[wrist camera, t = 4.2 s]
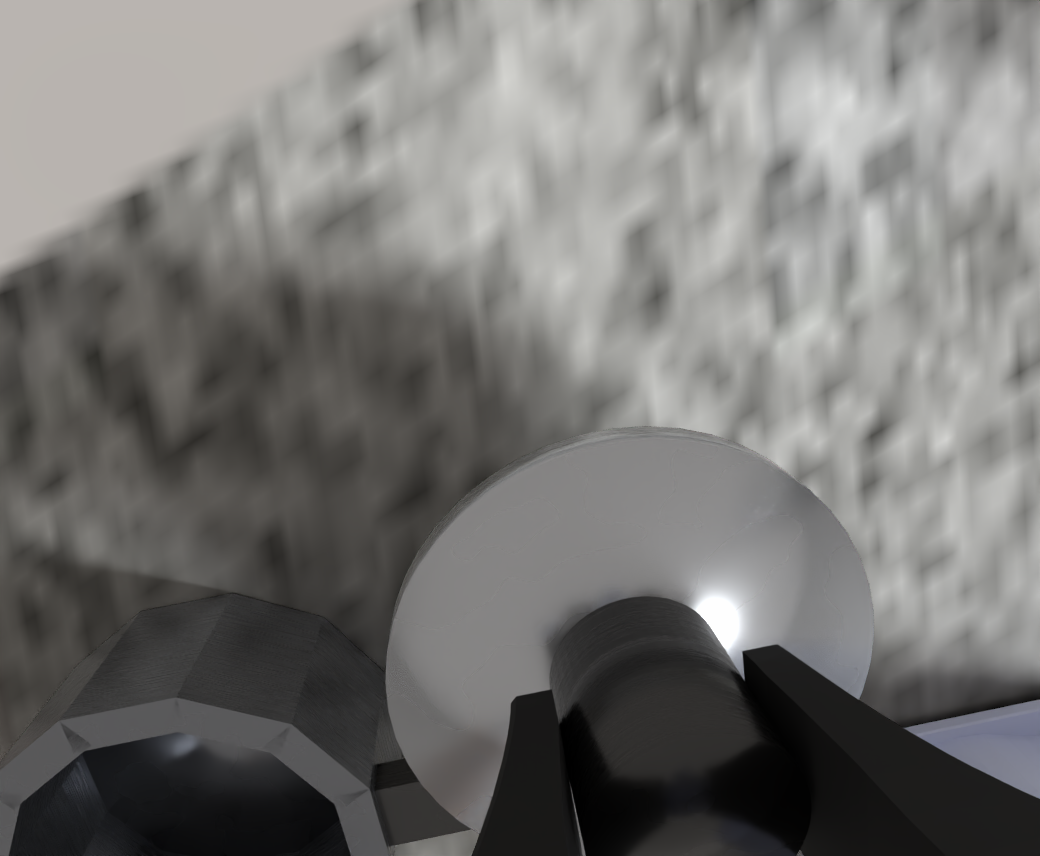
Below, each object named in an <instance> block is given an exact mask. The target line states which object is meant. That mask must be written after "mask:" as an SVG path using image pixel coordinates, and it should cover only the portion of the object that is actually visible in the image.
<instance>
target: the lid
mask: <svg viewBox="0 0 1040 856" xmlns="http://www.w3.org/2000/svg"><path fill="white" fill-rule="evenodd" d="M873 640H874V610H873V604H872V598H871V592H870V586H869V582H868V579H867V576H866V573H865V570H864V567H863V564H862V561H861V558H860V556H859V554H858V552H857V550H856V548H855V546H854V544H853V542H852V540H851V539H850V537H849V535H848V533H847V532H846V530H845V529H844V528H843V526H842V525H841V524H840V522H839V521H838V520H837V518H836V517H835V516H834V514H833V513H832V511H831V510H830V509H829V508H828V507H827V506H826V505H825V504H824V503H823V502H822V501H820V500H819V499H818V498H817V497H816V496H815V495H814V494H813V493H812V492H811V491H810V490H809V489H808V488H807V487H805V486H804V485H803V484H802V483H800V482H799V481H798V480H797V479H796V478H794V477H793V476H792V475H791V474H789V473H788V472H786V471H785V470H783V469H782V468H781V467H779V466H778V465H776V464H775V463H774V462H772V461H771V460H769V459H768V458H766V457H764V456H762V455H760V454H758V453H756V452H755V451H753V450H751V449H749V448H747V447H745V446H743V445H741V444H738V443H735V442H732V441H729V440H726V439H723V438H720V437H717V436H714V435H712V434H707V433H702V432H696V431H691V430H686V429H681V428H668V427H651V426H643V427H628V428H613V429H608V430H603V431H597V432H592V433H587V434H582V435H578V436H575V437H572V438H569V439H566V440H562V441H559V442H556V443H553V444H550V445H547V446H545V447H543V448H541V449H538V450H536V451H534V452H532V453H530V454H528V455H526V456H523V457H521V458H519V459H517V460H515V461H513V462H512V463H510V464H509V465H507V466H505V467H504V468H502V469H501V470H499V471H497V472H496V473H494V474H493V475H491V476H489V477H488V478H486V479H485V480H484V481H483V482H481V483H480V484H479V485H478V486H477V487H475V488H474V489H473V490H472V491H470V492H469V493H468V494H467V495H466V496H464V497H463V498H462V499H461V500H460V501H459V502H458V503H457V504H456V505H455V506H454V507H453V508H452V509H451V510H450V511H449V512H448V513H447V514H446V515H445V517H444V518H443V519H442V520H441V521H440V522H439V523H438V524H437V525H436V527H435V528H434V530H433V531H432V532H431V534H430V535H429V537H428V538H427V539H426V541H425V542H424V544H423V545H422V546H421V548H420V549H419V551H418V553H417V555H416V557H415V558H414V560H413V562H412V564H411V566H410V568H409V570H408V572H407V574H406V575H405V578H404V581H403V583H402V586H401V589H400V592H399V595H398V597H397V600H396V603H395V607H394V612H393V617H392V622H391V627H390V632H389V640H388V648H387V659H386V682H385V685H386V694H387V703H388V712H389V715H390V719H391V722H392V726H393V730H394V733H395V737H396V740H397V742H398V744H399V746H400V748H401V750H402V753H403V755H404V757H405V759H406V761H407V763H408V765H409V766H410V768H411V769H412V771H413V772H414V774H415V775H416V777H417V778H418V780H419V781H420V783H421V784H422V786H423V787H424V788H425V789H426V790H427V791H428V792H429V793H430V795H431V796H432V797H433V798H434V799H435V800H436V801H437V802H438V803H439V805H441V806H442V807H443V808H444V809H445V810H447V811H448V812H449V813H450V814H451V815H453V816H454V817H455V818H456V819H457V820H459V821H460V822H461V823H463V824H464V825H466V826H468V827H469V828H471V829H472V830H474V831H476V832H477V833H479V834H480V832H481V829H482V826H483V823H484V820H485V817H486V814H487V811H488V808H489V805H490V802H491V799H492V796H493V792H494V789H495V785H496V781H497V778H498V774H499V770H500V766H501V763H502V759H503V754H504V750H505V745H506V740H507V735H508V729H509V721H510V710H511V702H512V701H513V700H514V699H515V697H516V696H520V695H525V694H530V693H535V692H540V691H545V690H550V689H552V692H553V697H554V702H555V706H556V711H557V716H558V721H559V726H560V732H561V737H562V743H563V748H564V754H565V759H566V765H567V770H568V776H569V781H570V786H571V792H572V797H573V803H574V808H575V814H576V819H577V825H578V830H579V836H580V841H581V847H582V855H583V856H796V855H797V853H798V852H799V850H800V848H801V847H802V845H803V842H804V840H805V838H806V835H807V832H808V829H809V825H810V820H811V811H812V810H811V797H810V792H809V788H808V785H807V783H806V781H805V778H804V776H803V775H802V773H801V771H800V770H799V768H798V767H797V765H796V763H795V762H794V760H793V758H792V757H791V755H790V754H789V752H788V750H787V749H786V747H785V746H784V744H783V742H782V741H781V739H780V737H779V736H778V734H777V733H776V731H775V729H774V728H773V726H772V724H771V723H770V721H769V720H768V718H767V716H766V715H765V713H764V712H763V710H762V708H761V707H760V705H759V703H758V702H757V700H756V699H755V697H754V695H753V694H752V692H751V690H750V689H749V687H748V686H747V684H746V682H745V678H744V666H743V654H742V651H745V650H750V649H755V648H760V647H765V646H770V645H775V644H778V645H780V646H781V647H783V648H784V649H785V650H787V651H788V652H790V653H791V654H793V655H794V656H796V657H797V658H798V659H800V660H801V661H803V662H804V663H806V664H807V665H808V666H810V667H811V668H813V669H814V670H816V671H817V672H819V673H820V674H821V675H823V676H824V677H826V678H827V679H829V680H830V681H832V682H833V683H834V684H836V685H837V686H839V687H840V688H842V689H843V690H845V691H846V692H848V693H849V694H851V695H852V696H854V697H855V698H857V699H858V700H859V698H860V696H861V694H862V691H863V688H864V685H865V681H866V678H867V674H868V670H869V667H870V662H871V655H872V647H873Z"/></svg>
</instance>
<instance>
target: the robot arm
mask: <svg viewBox="0 0 1040 856" xmlns="http://www.w3.org/2000/svg"><path fill="white" fill-rule="evenodd" d="M742 654H743V666H744V678H745V682H746V684H747V686H748V687H749V689H750V690H751V692H752V694H753V695H754V697H755V699H756V700H757V702H758V703H759V705H760V707H761V708H762V710H763V712H764V713H765V715H766V716H767V718H768V720H769V721H770V723H771V724H772V726H773V728H774V729H775V731H776V733H777V734H778V736H779V737H780V739H781V741H782V742H783V744H784V746H785V747H786V749H787V750H788V752H789V754H790V755H791V757H792V758H793V760H794V762H795V763H796V765H797V767H798V768H799V770H800V771H801V773H802V775H803V776H804V778H805V781H806V783H807V785H808V788H809V792H810V797H811V810H812V811H811V820H810V825H809V829H808V832H807V835H806V838H805V840H804V842H803V845H802V847H801V848H800V850H801V852H802V853H803V855H804V856H1040V700H1035V701H1030V702H1025V703H1020V704H1016V705H1011V706H1006V707H1001V708H997V709H992V710H987V711H982V712H977V713H973V714H968V715H963V716H958V717H954V718H949V719H944V720H939V721H934V722H930V723H925V724H920V725H915V726H911V727H906V728H903V727H901V726H899V725H898V724H896V723H895V722H893V721H891V720H890V719H888V718H886V717H885V716H883V715H882V714H880V713H878V712H877V711H875V710H874V709H872V708H871V707H869V706H868V705H866V704H864V703H863V702H861V701H860V700H858V699H857V698H855V697H854V696H852V695H851V694H849V693H848V692H846V691H845V690H843V689H842V688H840V687H839V686H837V685H836V684H834V683H833V682H832V681H830V680H829V679H827V678H826V677H824V676H823V675H821V674H820V673H819V672H817V671H816V670H814V669H813V668H811V667H810V666H808V665H807V664H806V663H804V662H803V661H801V660H800V659H798V658H797V657H796V656H794V655H793V654H791V653H790V652H788V651H787V650H785V649H784V648H783V647H781V646H780V645H778V644H775V645H770V646H765V647H760V648H755V649H750V650H745V651H742ZM472 856H583V855H582V847H581V841H580V836H579V830H578V825H577V819H576V814H575V808H574V803H573V797H572V792H571V786H570V781H569V776H568V770H567V765H566V759H565V754H564V748H563V743H562V737H561V732H560V726H559V721H558V716H557V711H556V706H555V702H554V697H553V692H552V689H550V690H545V691H540V692H535V693H530V694H525V695H520V696H516V697H515V699H514V700H513V701H512V702H511V710H510V721H509V729H508V735H507V740H506V745H505V750H504V754H503V759H502V763H501V766H500V770H499V774H498V778H497V781H496V785H495V789H494V792H493V796H492V799H491V802H490V805H489V808H488V811H487V814H486V817H485V820H484V823H483V826H482V829H481V832H480V835H479V837H478V840H477V843H476V846H475V848H474V851H473V854H472Z"/></svg>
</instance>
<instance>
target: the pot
mask: <svg viewBox="0 0 1040 856" xmlns="http://www.w3.org/2000/svg"><path fill="white" fill-rule="evenodd" d="M385 682H386V674H385V672H384V671H383V670H382V669H380V668H379V667H378V666H377V665H376V664H375V663H374V662H373V661H372V660H371V659H369V658H368V657H367V656H366V655H365V654H364V653H363V652H362V651H361V650H359V649H358V648H357V647H356V646H355V645H354V644H353V643H352V642H351V641H349V640H348V639H347V638H346V637H345V636H344V635H343V634H342V633H341V632H339V631H338V630H337V629H336V628H335V627H334V626H333V625H332V624H331V623H329V622H328V621H327V620H326V619H325V618H324V617H321V616H318V615H314V614H310V613H306V612H302V611H299V610H295V609H291V608H287V607H283V606H280V605H276V604H272V603H268V602H264V601H260V600H257V599H253V598H249V597H245V596H241V595H238V594H234V593H232V594H227V595H222V596H216V597H211V598H206V599H201V600H196V601H191V602H186V603H180V604H175V605H170V606H165V607H160V608H155V609H150V610H144V611H141V612H139V613H138V614H137V615H136V616H135V617H133V618H132V619H131V620H130V621H129V622H128V623H126V624H125V625H124V626H123V627H122V628H120V629H119V630H118V631H117V632H116V633H115V634H113V635H112V636H111V637H110V638H109V639H108V640H106V641H105V642H104V643H103V644H102V645H100V646H99V647H98V648H97V649H96V650H95V651H93V652H92V653H91V654H90V655H89V656H88V657H86V658H85V659H84V660H83V661H82V662H80V663H79V664H78V665H77V666H76V667H75V669H74V670H73V671H72V672H71V674H70V675H69V676H68V677H67V679H66V680H65V681H64V682H63V684H62V685H61V686H60V687H59V689H58V690H57V691H56V692H55V694H54V695H53V696H52V697H51V699H50V700H49V701H48V702H47V704H46V705H45V706H44V707H43V709H42V710H41V711H40V712H39V714H38V715H37V716H36V717H35V719H34V720H33V721H32V723H31V724H30V725H29V726H28V728H27V729H26V730H25V731H24V733H23V734H22V735H21V736H20V738H19V739H18V740H17V741H16V743H15V744H14V745H13V746H12V748H11V749H10V750H9V751H8V753H7V754H6V755H5V756H4V758H3V759H2V760H1V761H0V856H394V853H395V845H398V844H403V843H408V842H412V841H417V840H422V839H427V838H432V837H436V836H441V835H446V834H451V833H455V832H460V831H465V830H470V829H471V828H469V827H468V826H466V825H464V824H463V823H461V822H460V821H459V820H457V819H456V818H455V817H454V816H453V815H451V814H450V813H449V812H448V811H447V810H445V809H444V808H443V807H442V806H441V805H439V803H438V802H437V801H436V800H435V799H434V798H433V797H432V796H431V795H430V793H429V792H428V791H427V790H426V789H425V788H424V787H423V786H422V784H421V783H420V781H419V780H418V778H417V777H416V775H415V774H414V772H413V771H412V769H411V768H410V766H409V765H408V763H407V761H406V759H405V758H404V759H402V756H403V753H402V750H401V748H400V746H399V744H398V742H397V740H396V737H395V733H394V730H393V726H392V722H391V719H390V715H389V712H388V703H387V694H386V685H385Z"/></svg>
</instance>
